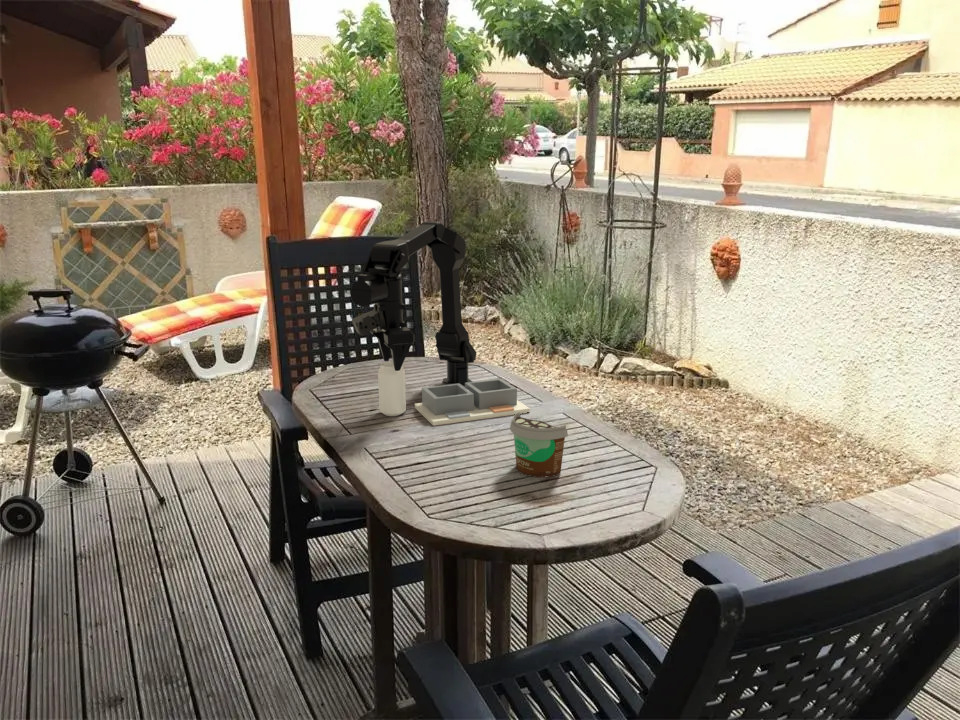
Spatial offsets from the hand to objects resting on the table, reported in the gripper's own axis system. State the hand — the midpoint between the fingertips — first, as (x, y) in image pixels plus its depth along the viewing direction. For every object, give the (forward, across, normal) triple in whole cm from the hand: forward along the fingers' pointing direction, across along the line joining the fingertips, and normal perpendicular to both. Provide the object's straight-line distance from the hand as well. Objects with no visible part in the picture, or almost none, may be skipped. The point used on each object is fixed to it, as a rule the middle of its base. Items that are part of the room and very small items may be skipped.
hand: (391, 365), depth 179 cm
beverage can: (+12, 0, 0) cm, 12 cm away
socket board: (+12, +5, +18) cm, 22 cm away
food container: (+12, +44, +15) cm, 48 cm away
